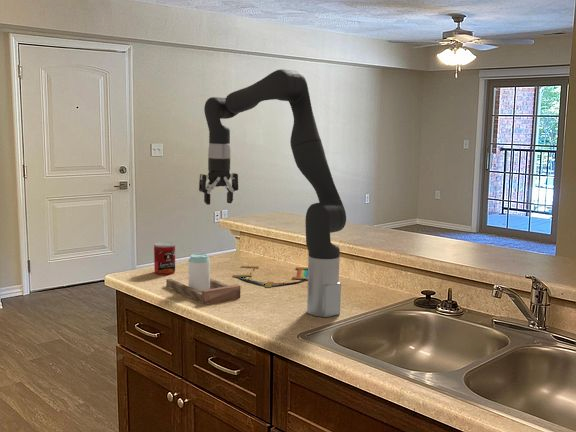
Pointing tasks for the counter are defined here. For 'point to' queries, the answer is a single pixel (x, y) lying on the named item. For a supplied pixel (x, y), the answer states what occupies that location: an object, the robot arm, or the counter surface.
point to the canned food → (164, 258)
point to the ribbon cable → (300, 275)
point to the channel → (207, 291)
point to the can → (199, 272)
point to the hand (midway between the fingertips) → (218, 203)
